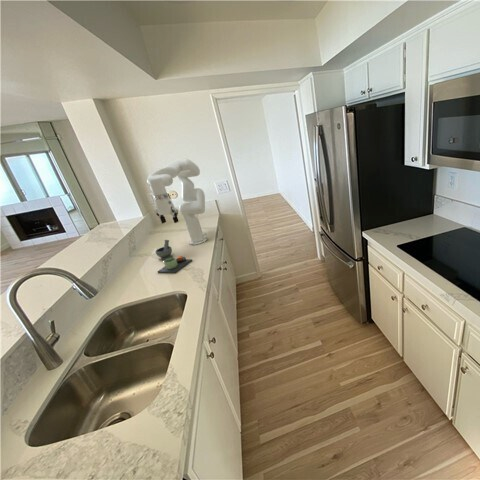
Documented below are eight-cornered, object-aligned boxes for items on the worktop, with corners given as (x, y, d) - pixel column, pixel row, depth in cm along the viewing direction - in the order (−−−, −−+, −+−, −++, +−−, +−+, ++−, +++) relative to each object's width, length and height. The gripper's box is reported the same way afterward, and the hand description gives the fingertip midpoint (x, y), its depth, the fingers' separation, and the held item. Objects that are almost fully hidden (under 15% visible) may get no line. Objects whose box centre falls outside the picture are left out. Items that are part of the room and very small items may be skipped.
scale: (176, 260, 180) (175, 256, 178) (192, 260, 176) (191, 256, 175) (158, 273, 165) (156, 269, 164) (175, 273, 162) (173, 269, 161)
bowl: (171, 264, 171) (169, 257, 169) (180, 264, 170) (177, 257, 168) (163, 269, 165) (161, 262, 163) (172, 269, 164) (170, 262, 162)
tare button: (180, 258, 176) (179, 256, 175) (183, 258, 175) (182, 255, 175) (176, 260, 173) (176, 258, 173) (180, 260, 173) (179, 258, 172)
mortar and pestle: (166, 261, 180) (160, 245, 175) (155, 261, 183) (149, 245, 178) (178, 254, 190) (173, 238, 185) (168, 253, 193) (162, 238, 188)
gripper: (177, 194, 166) (185, 220, 173) (154, 196, 170) (163, 220, 177) (168, 197, 160) (177, 224, 166) (145, 199, 164) (155, 224, 170)
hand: (170, 222), depth 172 cm, fingers open, 9 cm apart
